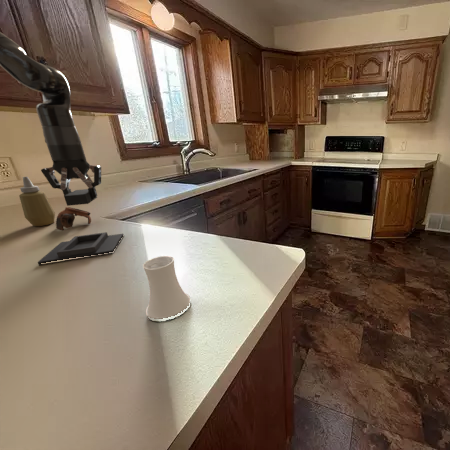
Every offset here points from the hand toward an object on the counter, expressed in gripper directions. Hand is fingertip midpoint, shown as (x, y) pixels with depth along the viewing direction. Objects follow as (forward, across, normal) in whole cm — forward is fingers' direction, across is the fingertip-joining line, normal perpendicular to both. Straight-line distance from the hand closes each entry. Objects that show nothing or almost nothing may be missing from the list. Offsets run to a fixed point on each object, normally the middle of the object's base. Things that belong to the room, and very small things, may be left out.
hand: (82, 200), depth 77 cm
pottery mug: (+13, +10, -15) cm, 22 cm away
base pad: (+12, -1, +11) cm, 17 cm away
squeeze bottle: (+13, +22, -24) cm, 35 cm away
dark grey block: (0, 0, 0) cm, 0 cm away
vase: (+13, -25, +51) cm, 58 cm away
